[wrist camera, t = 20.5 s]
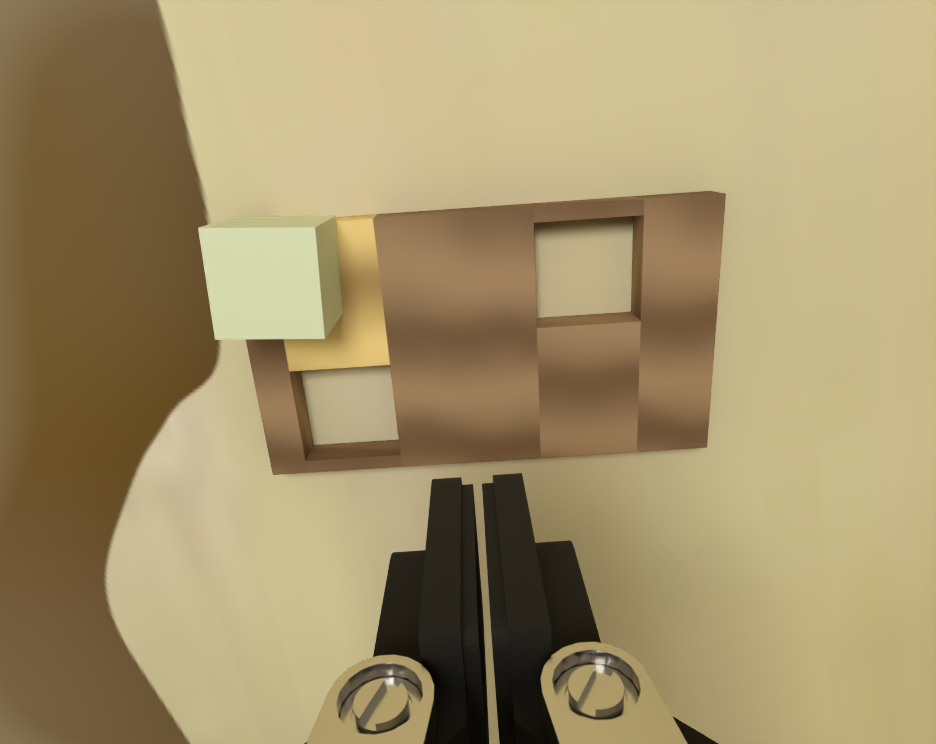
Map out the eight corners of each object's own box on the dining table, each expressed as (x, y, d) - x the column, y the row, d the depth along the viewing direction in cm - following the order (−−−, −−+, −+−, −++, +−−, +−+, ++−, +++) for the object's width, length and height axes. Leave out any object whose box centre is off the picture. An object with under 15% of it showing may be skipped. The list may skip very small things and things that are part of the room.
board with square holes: (694, 432, 37) (706, 447, 35) (282, 458, 38) (272, 474, 36) (710, 190, 32) (725, 193, 30) (237, 224, 33) (223, 229, 31)
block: (342, 313, 32) (324, 338, 28) (247, 314, 32) (215, 339, 28) (335, 215, 31) (314, 227, 27) (234, 216, 31) (198, 227, 26)
